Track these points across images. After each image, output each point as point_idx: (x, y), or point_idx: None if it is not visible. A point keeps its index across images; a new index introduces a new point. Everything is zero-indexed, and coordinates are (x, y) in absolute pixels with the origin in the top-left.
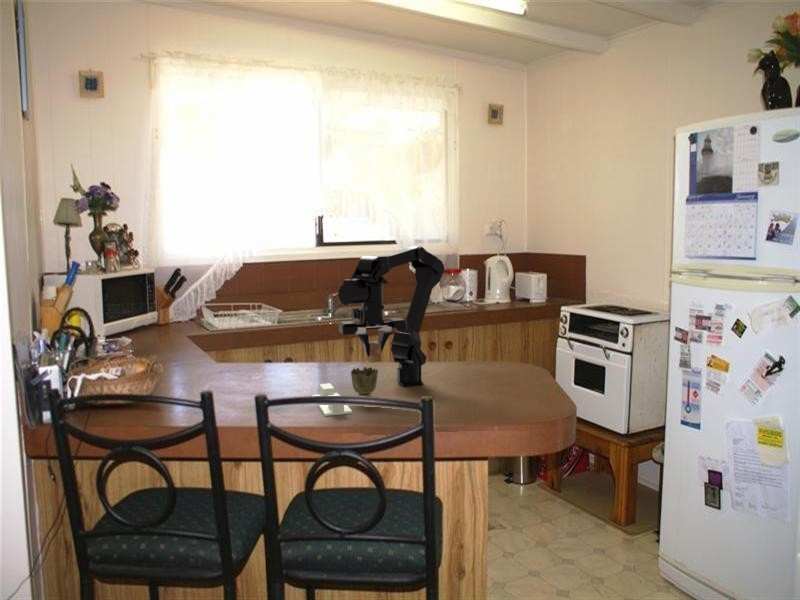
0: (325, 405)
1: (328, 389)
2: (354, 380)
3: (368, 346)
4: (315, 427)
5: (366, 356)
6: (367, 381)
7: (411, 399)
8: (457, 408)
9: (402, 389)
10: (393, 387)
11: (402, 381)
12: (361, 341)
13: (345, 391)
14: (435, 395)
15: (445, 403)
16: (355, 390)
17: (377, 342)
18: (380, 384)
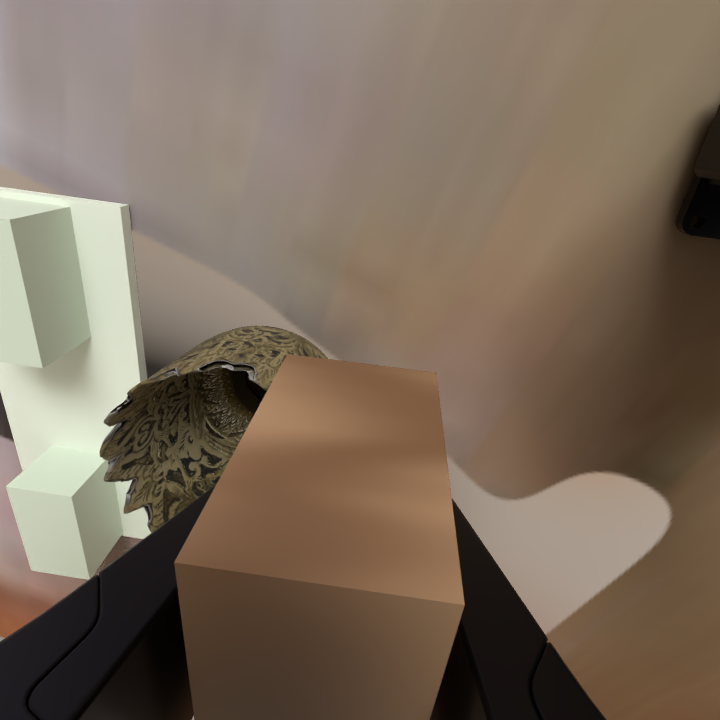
0: (37, 424)
1: (6, 359)
2: (157, 459)
3: (185, 703)
4: (10, 592)
5: (276, 379)
6: None
7: (517, 494)
8: (607, 663)
9: (611, 294)
10: (590, 209)
11: (716, 189)
12: (10, 658)
13: (201, 138)
14: (685, 496)
15: (617, 604)
16: (201, 398)
17: (413, 709)
18: (555, 49)
